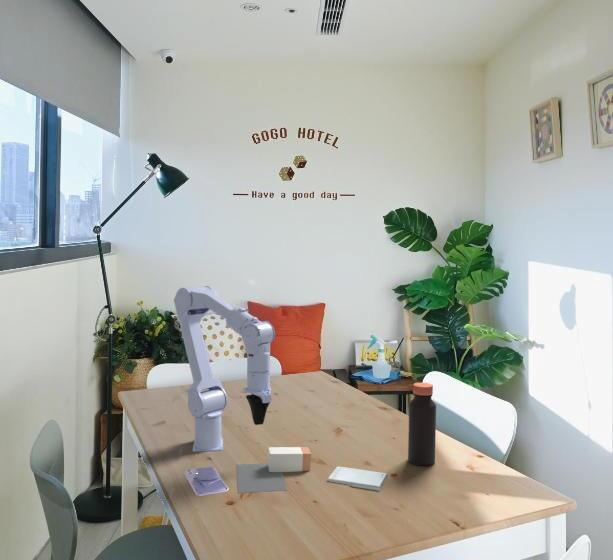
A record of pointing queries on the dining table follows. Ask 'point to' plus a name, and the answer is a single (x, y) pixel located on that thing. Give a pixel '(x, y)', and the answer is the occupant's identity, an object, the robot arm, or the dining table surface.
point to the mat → (259, 479)
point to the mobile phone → (205, 481)
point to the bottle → (422, 426)
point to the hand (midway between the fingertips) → (258, 423)
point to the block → (289, 459)
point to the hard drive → (358, 478)
